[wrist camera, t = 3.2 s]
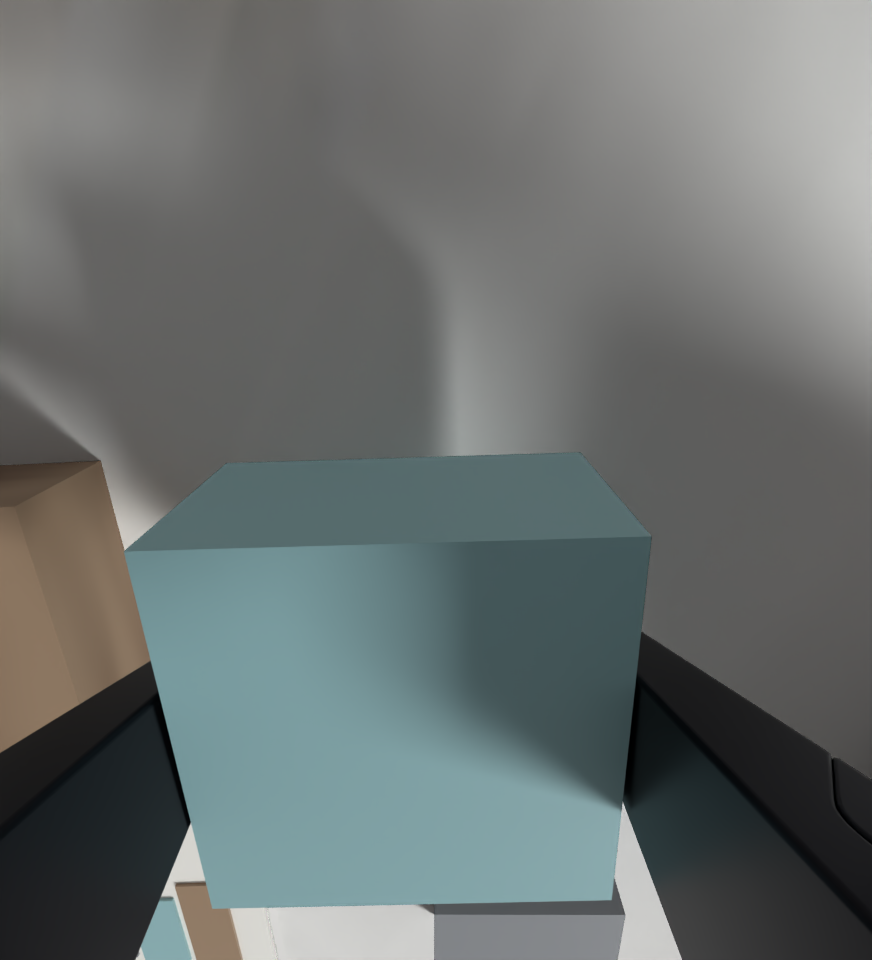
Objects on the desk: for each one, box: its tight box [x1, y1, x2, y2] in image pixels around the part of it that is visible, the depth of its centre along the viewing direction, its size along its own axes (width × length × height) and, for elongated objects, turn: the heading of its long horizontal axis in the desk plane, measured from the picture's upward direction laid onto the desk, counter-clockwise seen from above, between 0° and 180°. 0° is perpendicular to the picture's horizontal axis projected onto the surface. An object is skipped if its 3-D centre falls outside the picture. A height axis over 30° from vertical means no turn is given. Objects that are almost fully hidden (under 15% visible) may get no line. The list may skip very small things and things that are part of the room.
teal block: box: [124, 452, 652, 909], centre depth 8 cm, size 6×6×3 cm
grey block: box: [434, 879, 625, 960], centre depth 15 cm, size 4×4×3 cm
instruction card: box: [136, 824, 278, 960], centre depth 17 cm, size 7×9×1 cm
